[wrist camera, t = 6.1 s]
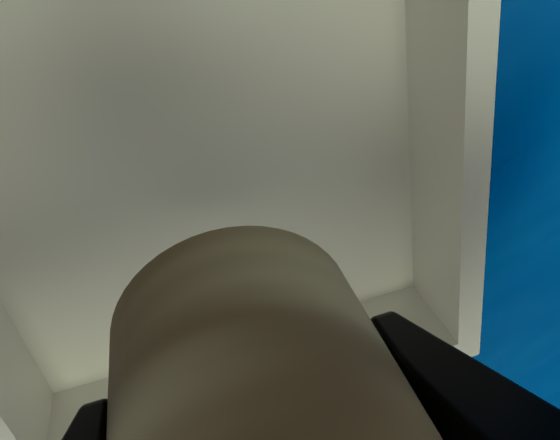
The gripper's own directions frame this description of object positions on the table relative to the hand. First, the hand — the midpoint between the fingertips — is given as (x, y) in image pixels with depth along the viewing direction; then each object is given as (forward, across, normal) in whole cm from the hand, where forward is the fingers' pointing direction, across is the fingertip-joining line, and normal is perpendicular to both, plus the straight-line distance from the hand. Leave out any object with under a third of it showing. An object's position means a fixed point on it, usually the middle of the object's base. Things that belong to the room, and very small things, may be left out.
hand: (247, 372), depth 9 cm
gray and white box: (+9, 0, 0) cm, 9 cm away
